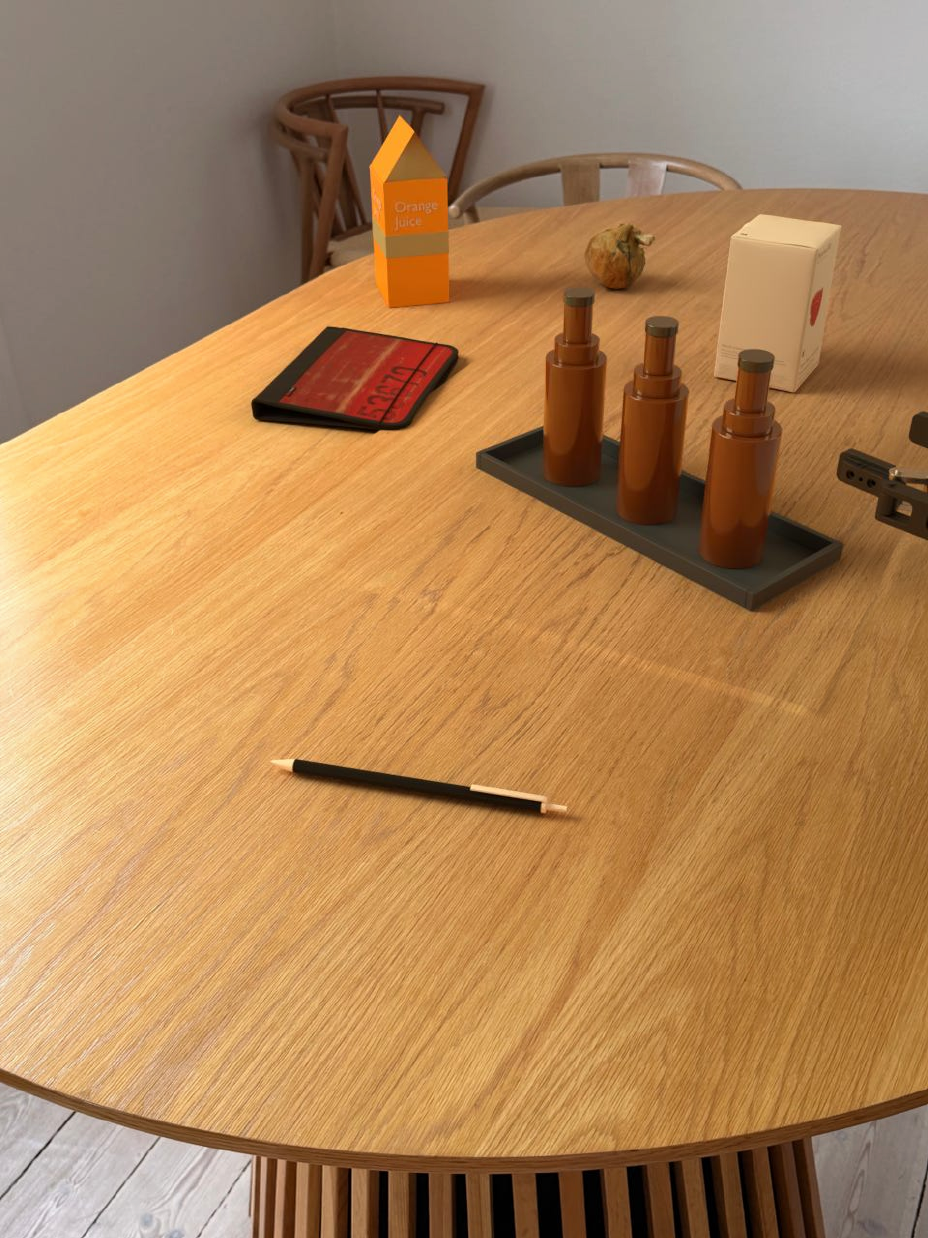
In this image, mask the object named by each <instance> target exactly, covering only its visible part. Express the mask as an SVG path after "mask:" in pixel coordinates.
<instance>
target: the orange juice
mask: <svg viewBox="0 0 928 1238" xmlns="http://www.w3.org/2000/svg"><path fill="white" fill-rule="evenodd" d="M368 168H369V175H370V193H371V194H370V196H371V212H372V213H371V219H372V238H373V250H374V251H373V253H374V271H375V273H374V274H375V285H376V287H377V290H378V291H379V293H380V294H381V297H382V299H383V300H384V302H385V304H386V305H387V308H389V309H391V308H401V307H402V308H403V307H413V306H414V307H415V306H424V305H432V304H433V305H435V304H444V303H450V257H449V256H450V254H449V253H450V236H449V235H450V231H449V203H448V199H449V198H448V193H449V191H448V180H449V179H448V177H447V175H446V173H444V171H443V169H442V168H441V167H440V166H439V164H438V163H437V161H436V160H435V159H434V157H433V156H432V154H431V153H430V151H429V150H428V149H427V147H426V146H425V144H424V143H423V141H422V140H421V139H420V137H419V136H418V135H417V133H416V132H415V131H414V129H413V128H412V127H411V126H410V124H408V123H407V122H406V120H405V119H404V118H403V117H402V115H398V118H397V119H396V120H395V123H394V124H393V126H392V128H391V130H390V131H389V133H388V134H387V136H386V138H385V140H384V141H383V143H382V145H381V146H380V148H379V150H378V152H377V154H376V155H375V157H374V158H373V160H372V162H371V164H369V167H368Z"/></svg>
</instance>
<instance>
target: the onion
mask: <svg viewBox="0 0 928 1238" xmlns="http://www.w3.org/2000/svg"><path fill="white" fill-rule="evenodd" d="M618 225H619V226H618V227H616V228H610V229H606V230H604V231H602V232H598V233H597V234H595V235H593V236H592V237H591V238H590V239H589V241H588V243H587V246H586V248H585V250H584V254H583V257H584V262H585V265H586V267H587V269H588V270H589V272H590V273H591V275H592V276H593V277H594V279H596V281H598V282H599V284H600V285H601V286H604V287H605V288H608V289H614V290H619V289H625V288H628V287H631V286H632V285H633V284H634V283H635V282H636V281H637V280H638V279H639V278H640V277H641V275H642V273H643V272H644V267H645V265H646V256H645V251H644V248H645V247H644V246H646V247H650V246H651V245H652V244H653V243H654V242H655V241H656V238H655V236H654V235H653V234H648V233H647V234H645V233H644V232H643V231H642V230H641V229H640V228H639V227H637V226H636V225H634V223H632V224H631V223H628V222H627V223H626V222H624V223H623V222H622V223H619V224H618ZM639 245H641V246H643V247H640V246H639Z"/></svg>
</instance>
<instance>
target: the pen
mask: <svg viewBox="0 0 928 1238" xmlns="http://www.w3.org/2000/svg"><path fill="white" fill-rule="evenodd" d="M268 763H269V764H270V765H273V766H275V767H278V768H281V769H283V770H286V771H288V772H291V773H293V774H298V775H299V774H300V775H306V776H312V777H318V778H325V779H330V780H337V781H342V782H349V783H354V784H361V785H368V786H375V787H379V788H385V789H393V790H398V791H404V792H411V793H416V794H424V795H429V796H435V797H441V798H448V799H452V800H453V799H454V800H459V801H460V800H461V801H466V802H472V803H477V804H485V805H491V806H497V807H502V808H503V807H504V808H510V809H515V810H522V811H528V812H533V813H535V812H536V813H540V814H546V813H547V811H552V812H553V811H554V812H560V813H568V806H567V805H560V804H554V803H549V801H548V796H546V795H542V794H541V795H540V794H534V793H528V792H522V791H517V790H510V789H504V788H497V787H492V786H485V785H479V784H472V783H471V785H470V786H468V785H462V784H457V783H456V784H455V783H449V782H444V781H437V780H430V779H425V778H417V777H411V776H405V775H399V774H393V773H388V772H379V771H374V770H367V769H361V768H356V767H349V766H342V765H337V764H330V763H323V762H319V761H318V762H317V761H311V760H305V759H298V758H287V759H272V760H268Z"/></svg>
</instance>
